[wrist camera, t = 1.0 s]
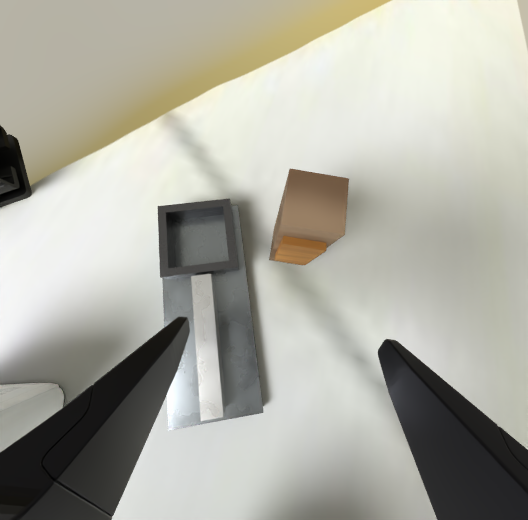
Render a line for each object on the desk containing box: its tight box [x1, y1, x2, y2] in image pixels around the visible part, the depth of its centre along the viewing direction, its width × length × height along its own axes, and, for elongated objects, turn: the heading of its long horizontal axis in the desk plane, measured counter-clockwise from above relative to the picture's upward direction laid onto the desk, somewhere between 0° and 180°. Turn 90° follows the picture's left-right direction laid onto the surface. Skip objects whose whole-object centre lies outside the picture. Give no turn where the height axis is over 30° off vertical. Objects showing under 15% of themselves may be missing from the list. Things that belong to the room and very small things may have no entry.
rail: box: [158, 199, 263, 430], centre depth 20 cm, size 22×9×3 cm, turn 8°
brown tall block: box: [269, 169, 349, 265], centre depth 18 cm, size 5×4×11 cm
